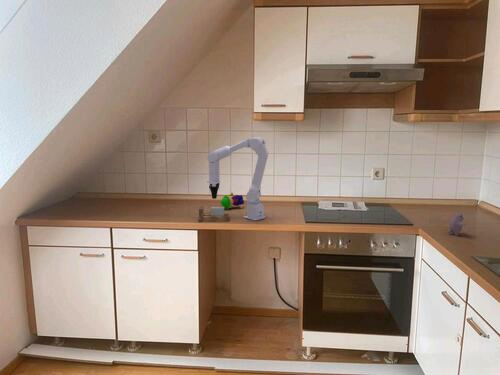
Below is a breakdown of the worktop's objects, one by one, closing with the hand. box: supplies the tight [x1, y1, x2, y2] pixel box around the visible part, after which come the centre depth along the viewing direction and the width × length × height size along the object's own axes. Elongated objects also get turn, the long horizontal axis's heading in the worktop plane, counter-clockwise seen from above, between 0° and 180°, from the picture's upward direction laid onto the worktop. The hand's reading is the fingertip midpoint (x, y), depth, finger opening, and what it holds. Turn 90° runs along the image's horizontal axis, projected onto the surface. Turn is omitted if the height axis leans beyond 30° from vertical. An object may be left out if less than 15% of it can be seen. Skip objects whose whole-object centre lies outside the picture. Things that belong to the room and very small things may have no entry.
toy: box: [220, 192, 245, 210], centre depth 227 cm, size 12×9×15 cm
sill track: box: [198, 205, 230, 223], centre depth 199 cm, size 16×7×7 cm, turn 93°
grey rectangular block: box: [210, 206, 225, 216], centre depth 199 cm, size 7×2×6 cm, turn 93°
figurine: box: [447, 212, 466, 237], centre depth 173 cm, size 12×6×10 cm, turn 170°
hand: (214, 197), depth 208 cm, fingers open, 7 cm apart
